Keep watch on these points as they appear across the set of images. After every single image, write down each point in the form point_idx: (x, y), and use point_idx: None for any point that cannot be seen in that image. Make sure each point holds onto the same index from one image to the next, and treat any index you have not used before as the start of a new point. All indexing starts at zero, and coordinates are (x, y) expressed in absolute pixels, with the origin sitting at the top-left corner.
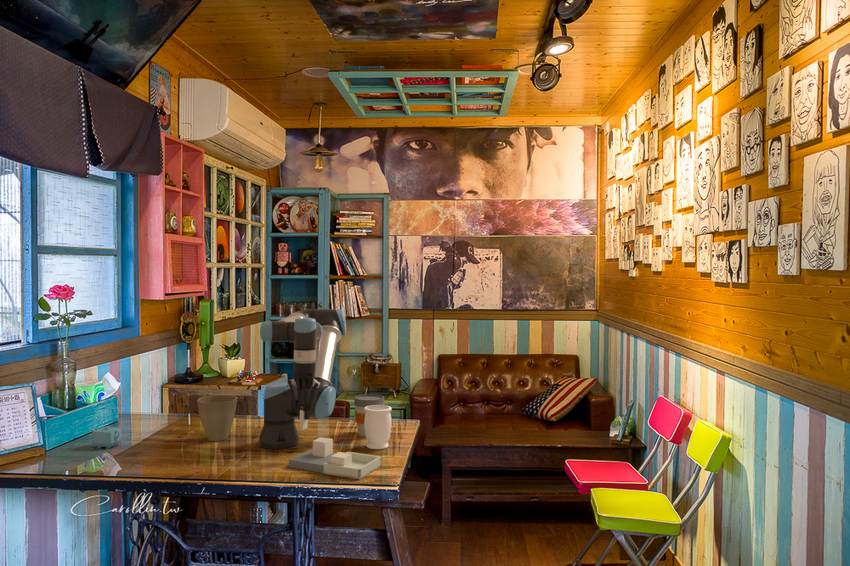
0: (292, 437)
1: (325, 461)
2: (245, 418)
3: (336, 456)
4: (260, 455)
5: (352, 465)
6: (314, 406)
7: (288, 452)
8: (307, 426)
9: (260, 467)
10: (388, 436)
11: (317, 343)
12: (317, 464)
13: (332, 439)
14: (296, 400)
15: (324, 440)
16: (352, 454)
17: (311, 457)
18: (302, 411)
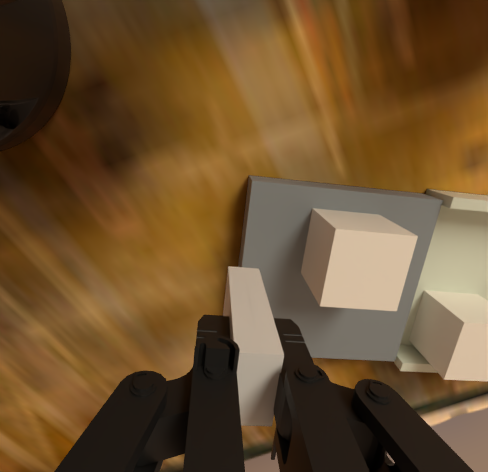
0: (38, 56)
1: (385, 322)
2: None
3: (468, 375)
4: (20, 253)
5: (472, 259)
6: (400, 403)
7: (112, 168)
8: (260, 274)
9: (132, 370)
10: None
11: None
12: (367, 359)
13: (416, 240)
14: (96, 459)
15: (380, 278)
16: (479, 210)
17: (309, 299)
18: (259, 420)
